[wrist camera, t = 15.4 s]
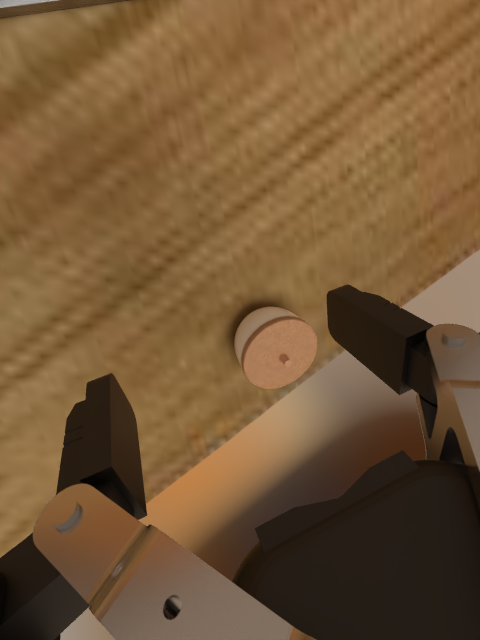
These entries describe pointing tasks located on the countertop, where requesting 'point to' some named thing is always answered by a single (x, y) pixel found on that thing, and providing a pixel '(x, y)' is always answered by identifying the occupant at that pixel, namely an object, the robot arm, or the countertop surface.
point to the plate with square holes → (43, 6)
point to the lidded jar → (274, 347)
